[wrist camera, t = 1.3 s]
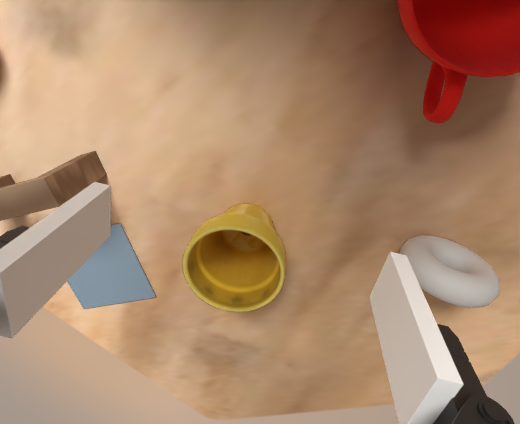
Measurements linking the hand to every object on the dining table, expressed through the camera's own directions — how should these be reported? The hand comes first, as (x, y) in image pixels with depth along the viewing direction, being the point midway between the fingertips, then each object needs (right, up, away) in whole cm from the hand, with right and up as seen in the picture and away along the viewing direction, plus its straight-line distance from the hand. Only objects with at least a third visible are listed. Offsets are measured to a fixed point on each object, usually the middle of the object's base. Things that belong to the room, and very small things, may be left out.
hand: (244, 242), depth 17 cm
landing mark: (-21, -6, +33) cm, 40 cm away
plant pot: (-1, 0, +27) cm, 27 cm away
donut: (+21, -2, +26) cm, 33 cm away
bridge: (-25, +6, +27) cm, 38 cm away
